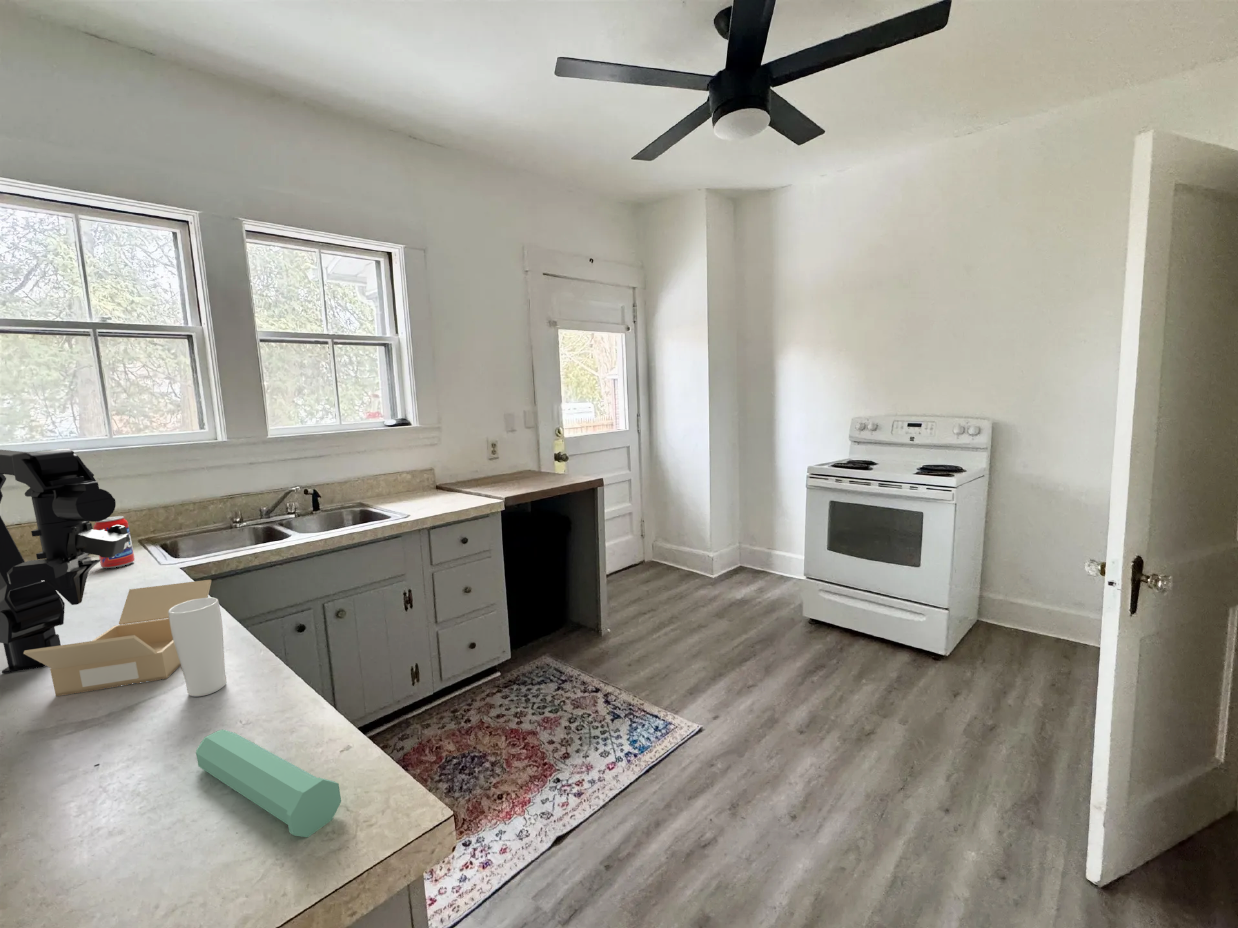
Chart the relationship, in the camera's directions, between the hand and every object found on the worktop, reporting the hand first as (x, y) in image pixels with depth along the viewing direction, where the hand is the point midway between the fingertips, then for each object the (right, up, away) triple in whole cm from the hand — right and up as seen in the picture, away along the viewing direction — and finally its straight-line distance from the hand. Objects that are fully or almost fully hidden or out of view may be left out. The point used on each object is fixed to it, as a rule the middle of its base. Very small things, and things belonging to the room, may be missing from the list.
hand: (76, 603), depth 100 cm
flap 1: (+11, -6, -8) cm, 15 cm away
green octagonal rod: (+54, -16, -32) cm, 65 cm away
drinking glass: (+29, -13, -7) cm, 32 cm away
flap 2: (+5, -3, +14) cm, 15 cm away
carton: (+8, -12, +4) cm, 15 cm away
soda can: (-56, -6, +70) cm, 90 cm away
